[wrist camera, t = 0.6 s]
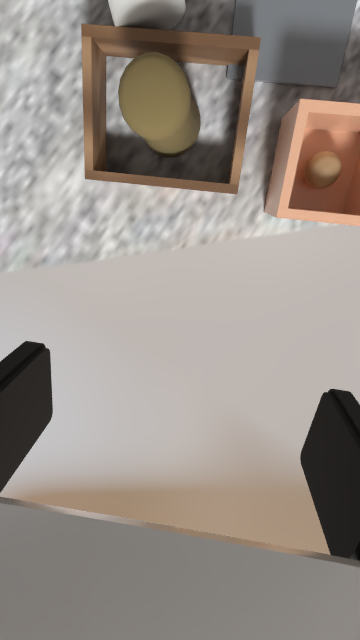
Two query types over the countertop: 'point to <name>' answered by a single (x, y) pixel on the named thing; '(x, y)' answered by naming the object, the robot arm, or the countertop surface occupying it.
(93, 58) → the walnut open frame
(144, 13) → the white plastic tumbler
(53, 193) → the countertop surface
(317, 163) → the cork ball
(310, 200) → the copper open box
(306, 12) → the slate coaster
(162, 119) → the pepper shaker
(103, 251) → the countertop surface
